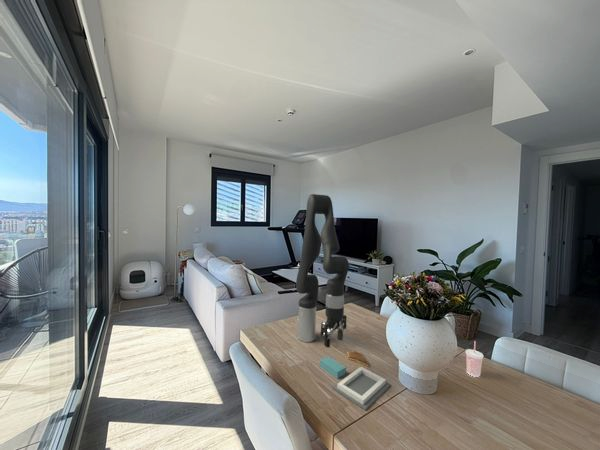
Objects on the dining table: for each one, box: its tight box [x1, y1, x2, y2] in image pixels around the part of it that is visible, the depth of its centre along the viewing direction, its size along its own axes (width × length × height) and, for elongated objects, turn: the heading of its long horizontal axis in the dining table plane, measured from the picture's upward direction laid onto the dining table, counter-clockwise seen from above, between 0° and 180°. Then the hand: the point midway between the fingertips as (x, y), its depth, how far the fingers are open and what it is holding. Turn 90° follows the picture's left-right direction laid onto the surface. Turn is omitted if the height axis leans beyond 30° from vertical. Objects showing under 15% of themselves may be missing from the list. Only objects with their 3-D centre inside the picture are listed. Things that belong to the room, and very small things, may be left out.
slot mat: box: [331, 366, 392, 411], centre depth 93 cm, size 14×18×2 cm
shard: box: [346, 350, 371, 367], centre depth 111 cm, size 11×8×2 cm
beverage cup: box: [465, 340, 484, 378], centre depth 103 cm, size 6×6×14 cm
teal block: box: [319, 356, 347, 379], centre depth 103 cm, size 10×5×3 cm, turn 39°
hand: (333, 343), depth 103 cm, fingers open, 8 cm apart
